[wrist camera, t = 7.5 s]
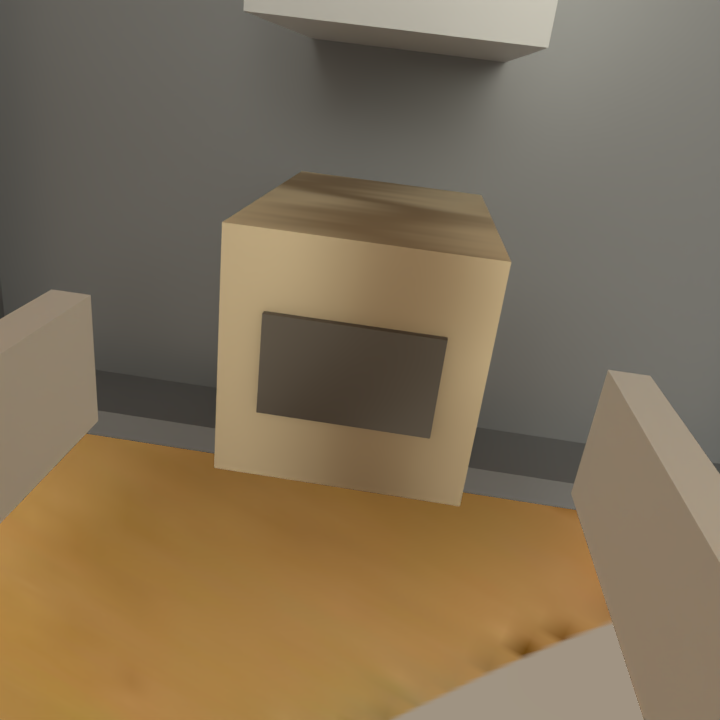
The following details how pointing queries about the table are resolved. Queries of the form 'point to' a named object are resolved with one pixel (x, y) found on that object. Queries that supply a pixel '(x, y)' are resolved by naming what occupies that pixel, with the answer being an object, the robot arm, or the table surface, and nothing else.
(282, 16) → the grey box
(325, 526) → the table surface
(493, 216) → the parts bin
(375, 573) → the table surface
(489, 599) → the table surface
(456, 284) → the maple box
